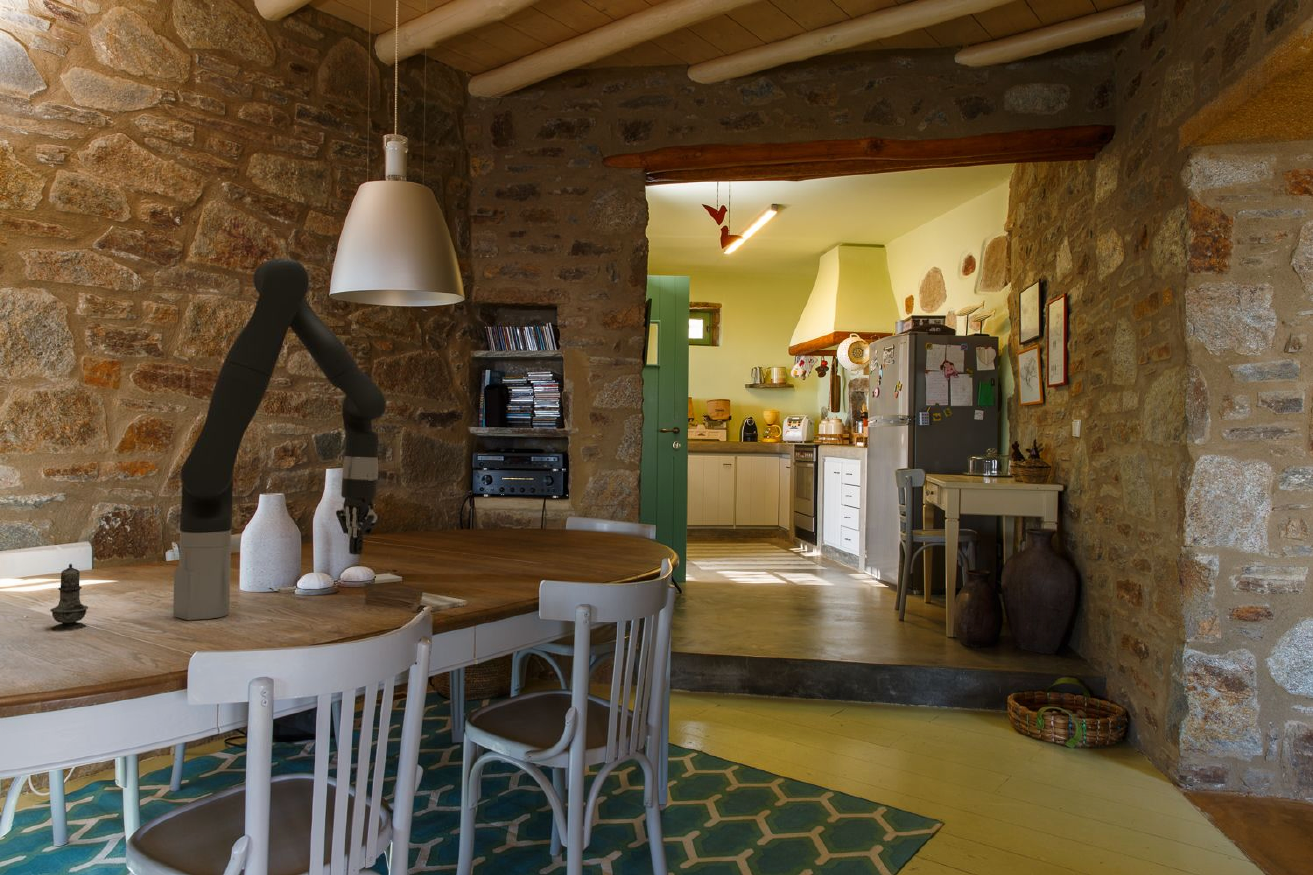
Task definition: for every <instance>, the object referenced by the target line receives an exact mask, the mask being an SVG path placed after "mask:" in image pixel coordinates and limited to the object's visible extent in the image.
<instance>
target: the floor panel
mask: <svg viewBox="0 0 1313 875" xmlns="http://www.w3.org/2000/svg"><path fill="white" fill-rule="evenodd" d="M467 603H468V601H467V600H464V599H460V598H455V597H449V596H444V595H439V594H433V593H428V592H423V593H422V599H421V603H420V606H419V607H418V608H417V610H420V611H423V610H422V609H423V608H424V607H426V606H431V607H432V608H433V610H434V612H439V611H443V610H449V609H454V608H459V607H463V605H464V606H467ZM458 606H459V607H458ZM453 607H454V608H453ZM435 610H436V611H435ZM438 610H439V611H438Z"/></svg>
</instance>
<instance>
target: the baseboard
mask: <svg viewBox="0 0 1313 875" xmlns="http://www.w3.org/2000/svg"><path fill="white" fill-rule="evenodd" d="M386 569H387V571H386V572H385V573H381V574H380V573H378V574H374V575H375V576H376V578H375V583H378V584H385V583H393V582H394V583H395V582H402V581H403V577H402V576H399V575H401V573H399V572H398V574H399V575H396V574H397V570H396V569H392V570H391V572H393V573H395V574H393V573H390V572H388V571H389V569H388V568H386ZM387 572H388V573H387ZM335 583H337V582H335ZM336 585H338V584H336ZM295 590H296V586H294V587H287V588H279V589H278V592H277V593H279V594H287V593H296V592H295Z"/></svg>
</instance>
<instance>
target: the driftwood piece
mask: <svg viewBox="0 0 1313 875" xmlns="http://www.w3.org/2000/svg"><path fill="white" fill-rule="evenodd" d="M364 584H365V585H364V592H365V593H364V594H365V597H364V602H365V603H364V604H365V605H367V606H375V605H376V606H377V607H383V608H393V609H396V610H402V611H405V612H410V613H417V612H418V611H417V610H418V609H417V608H418V607H419V606H420V603H421V599H422V593H424V592H423V591H424V590H423V588H420V587H419V588H418V587H411V586H405V585H397V584H385V583H365V582H364ZM376 606H375V607H376Z"/></svg>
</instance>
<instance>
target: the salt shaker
mask: <svg viewBox="0 0 1313 875" xmlns="http://www.w3.org/2000/svg"><path fill="white" fill-rule="evenodd" d="M73 566H74V565H73V564H72V563H69V565H68V568H65V569H63V570H62V571H61V572H60V587H58V588H57V590H58V591H59V602H58V605H57V606H55V607H53V608H51V609H50V610H49V611H50V612H51V613H52V614H51V615H52V617H53V619H54V621H55V622H57V623H58V624H56V625H54V626H53V627H51V630H52V629H53V630H52V631H57V632H58V631H61V632H64V631H65V630H68V631H74V630H73V629H76V630H79V629H78V628H81V629H83V628H82V627H84V628H86V627H87V624H84V623H83V622H79V621H81V620H82V619H83V618H84V617H85V615H86V614H87V610H88V609H89V606H87V605H84V604H82V603H81V599H80V596H81V595H80V592H81V589H82V588H83V587H82V586H80V575H81V574H80V570H78V569H77V568H74V567H73ZM85 626H86V627H85Z"/></svg>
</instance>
